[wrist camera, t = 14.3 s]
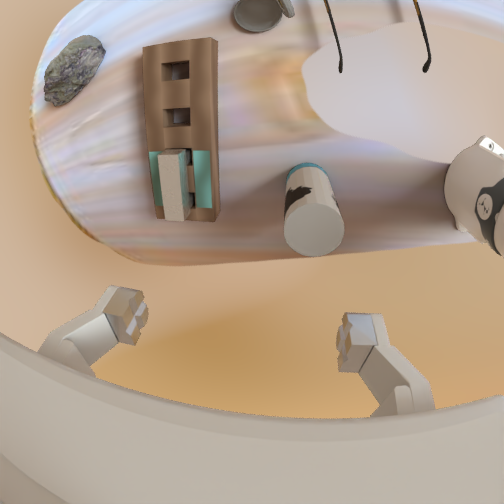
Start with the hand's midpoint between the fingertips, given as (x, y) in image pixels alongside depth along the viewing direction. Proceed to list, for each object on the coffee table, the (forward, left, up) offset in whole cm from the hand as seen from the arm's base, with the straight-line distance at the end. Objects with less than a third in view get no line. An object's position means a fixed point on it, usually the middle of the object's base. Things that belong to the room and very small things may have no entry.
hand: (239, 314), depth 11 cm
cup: (-5, +7, -34) cm, 35 cm away
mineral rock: (+34, -15, -34) cm, 51 cm away
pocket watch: (+2, -20, -34) cm, 40 cm away
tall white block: (+14, +6, -34) cm, 37 cm away
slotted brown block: (+14, -1, -34) cm, 37 cm away
